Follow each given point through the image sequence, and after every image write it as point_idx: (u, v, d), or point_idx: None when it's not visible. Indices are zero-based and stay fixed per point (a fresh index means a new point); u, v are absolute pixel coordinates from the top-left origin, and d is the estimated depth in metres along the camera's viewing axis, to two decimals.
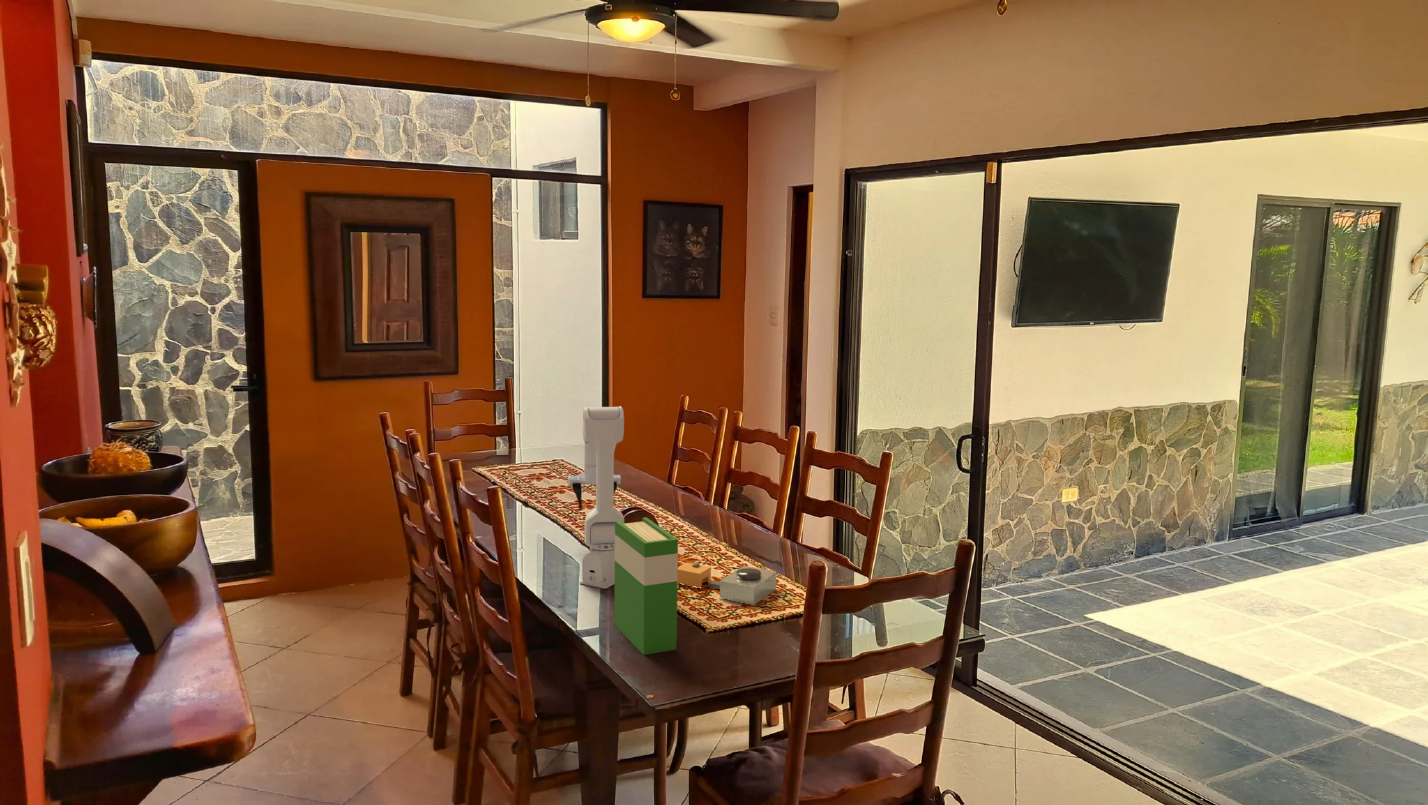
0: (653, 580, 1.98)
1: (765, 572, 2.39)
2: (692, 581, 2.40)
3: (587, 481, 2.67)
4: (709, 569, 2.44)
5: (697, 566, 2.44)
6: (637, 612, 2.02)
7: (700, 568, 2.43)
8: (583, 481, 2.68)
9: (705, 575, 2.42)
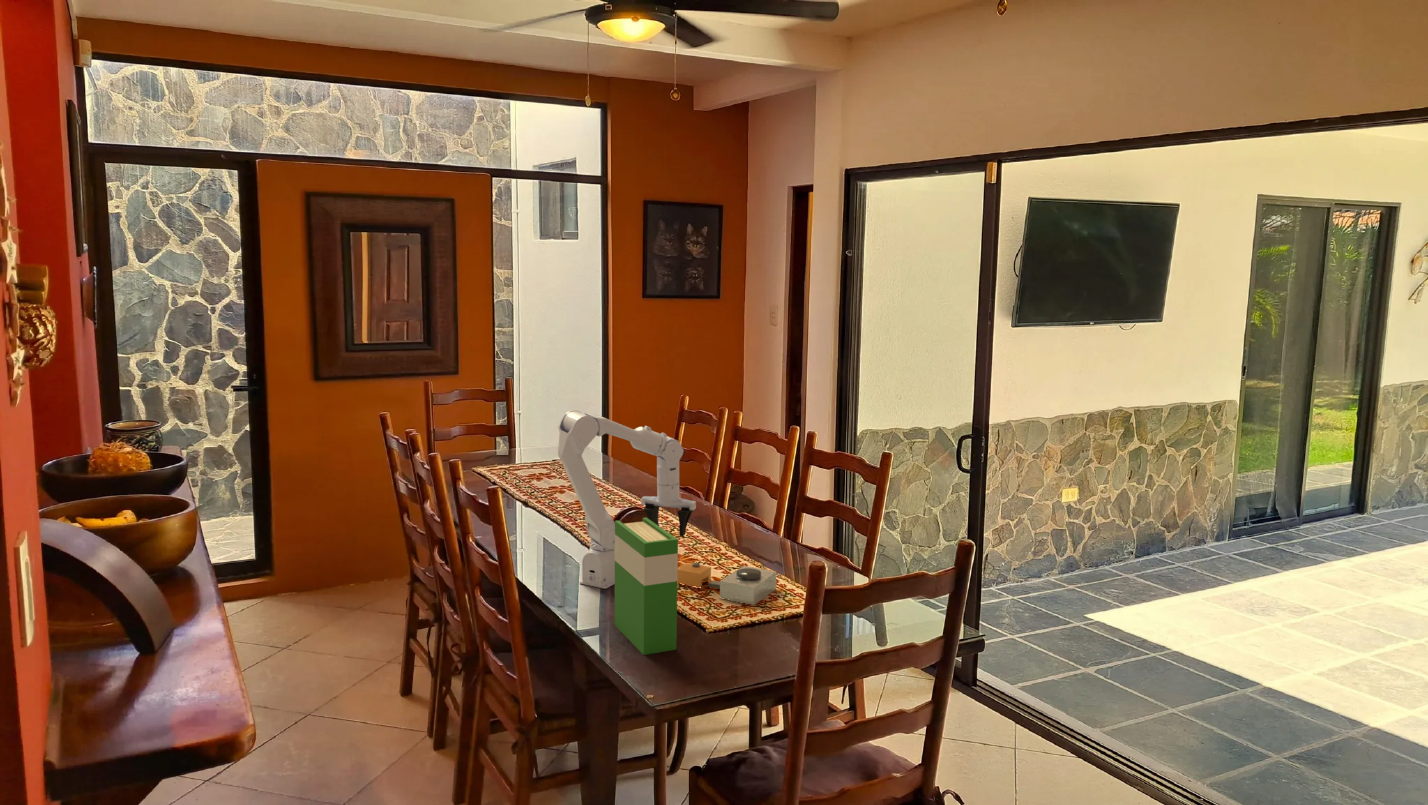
0: (653, 580, 1.98)
1: (765, 572, 2.39)
2: (692, 581, 2.40)
3: (657, 502, 2.48)
4: (709, 569, 2.44)
5: (697, 566, 2.44)
6: (637, 612, 2.02)
7: (700, 568, 2.43)
8: (653, 501, 2.49)
9: (705, 575, 2.42)
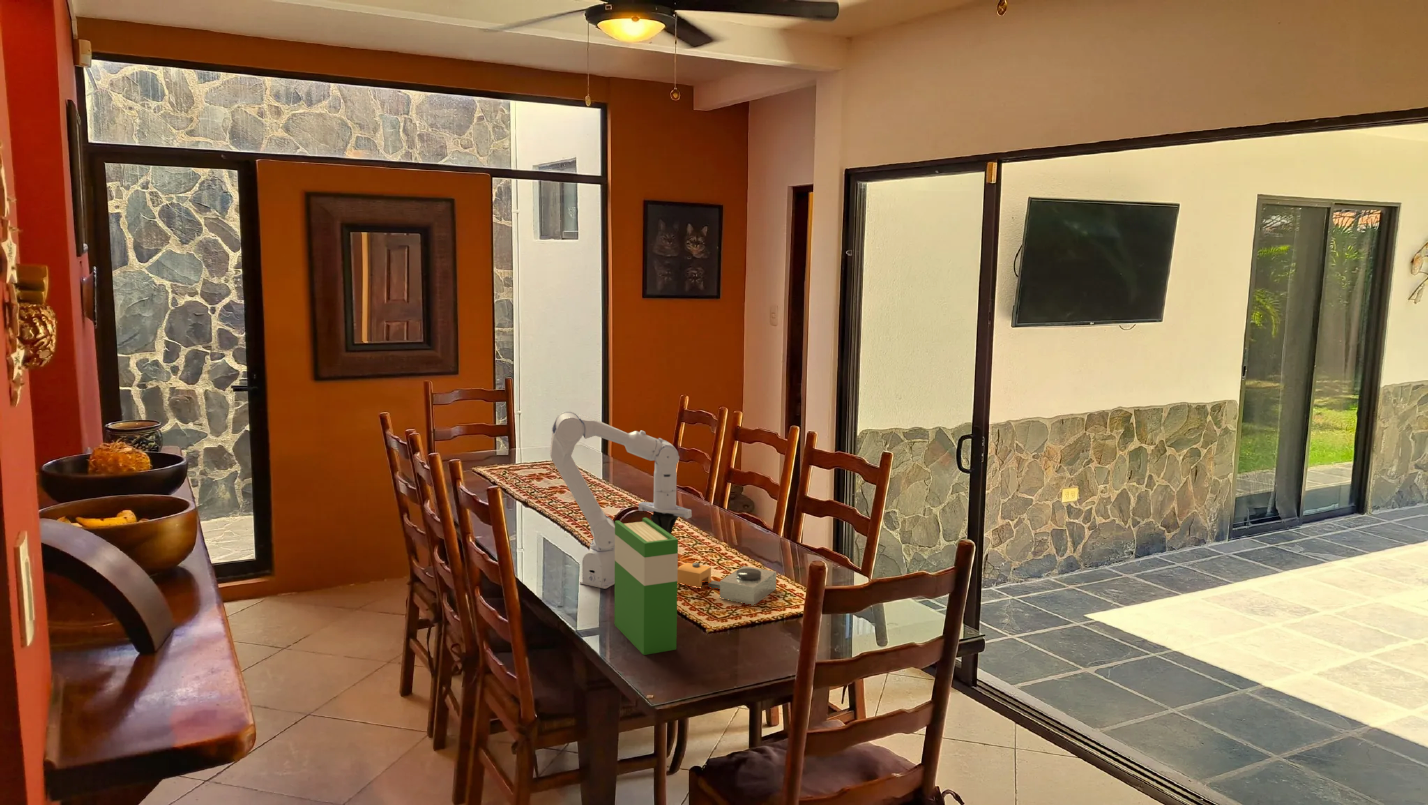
0: (653, 580, 1.98)
1: (765, 572, 2.39)
2: (692, 581, 2.40)
3: (652, 508, 2.44)
4: (709, 569, 2.44)
5: (697, 566, 2.44)
6: (637, 612, 2.02)
7: (700, 568, 2.43)
8: (649, 507, 2.44)
9: (705, 575, 2.42)
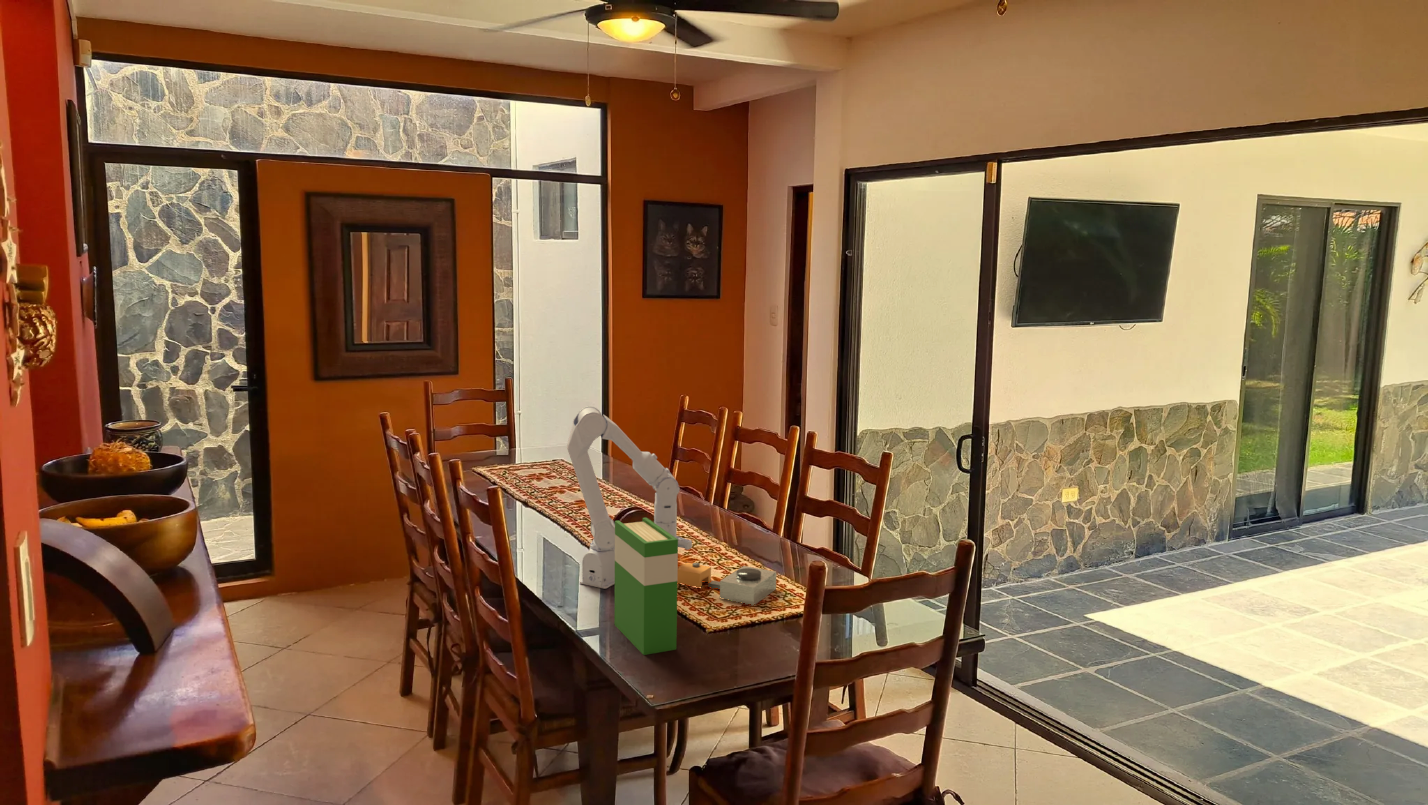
0: (653, 580, 1.98)
1: (765, 572, 2.39)
2: (692, 581, 2.40)
3: None
4: (709, 569, 2.44)
5: (697, 566, 2.44)
6: (637, 612, 2.02)
7: (700, 568, 2.43)
8: None
9: (705, 575, 2.42)
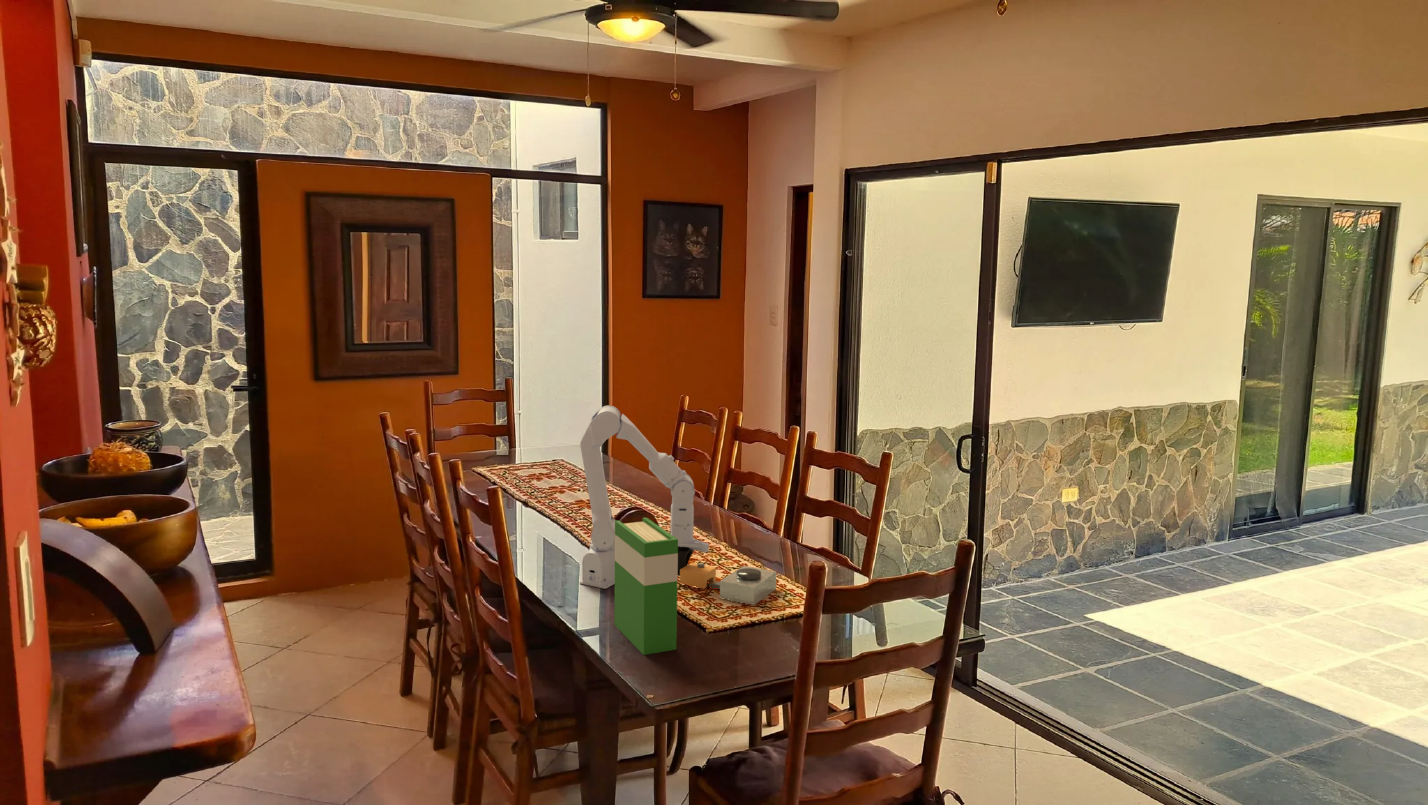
0: (653, 580, 1.98)
1: (765, 572, 2.39)
2: (697, 582, 2.40)
3: None
4: (714, 569, 2.43)
5: (702, 566, 2.43)
6: (637, 612, 2.02)
7: (705, 568, 2.43)
8: None
9: (710, 575, 2.41)
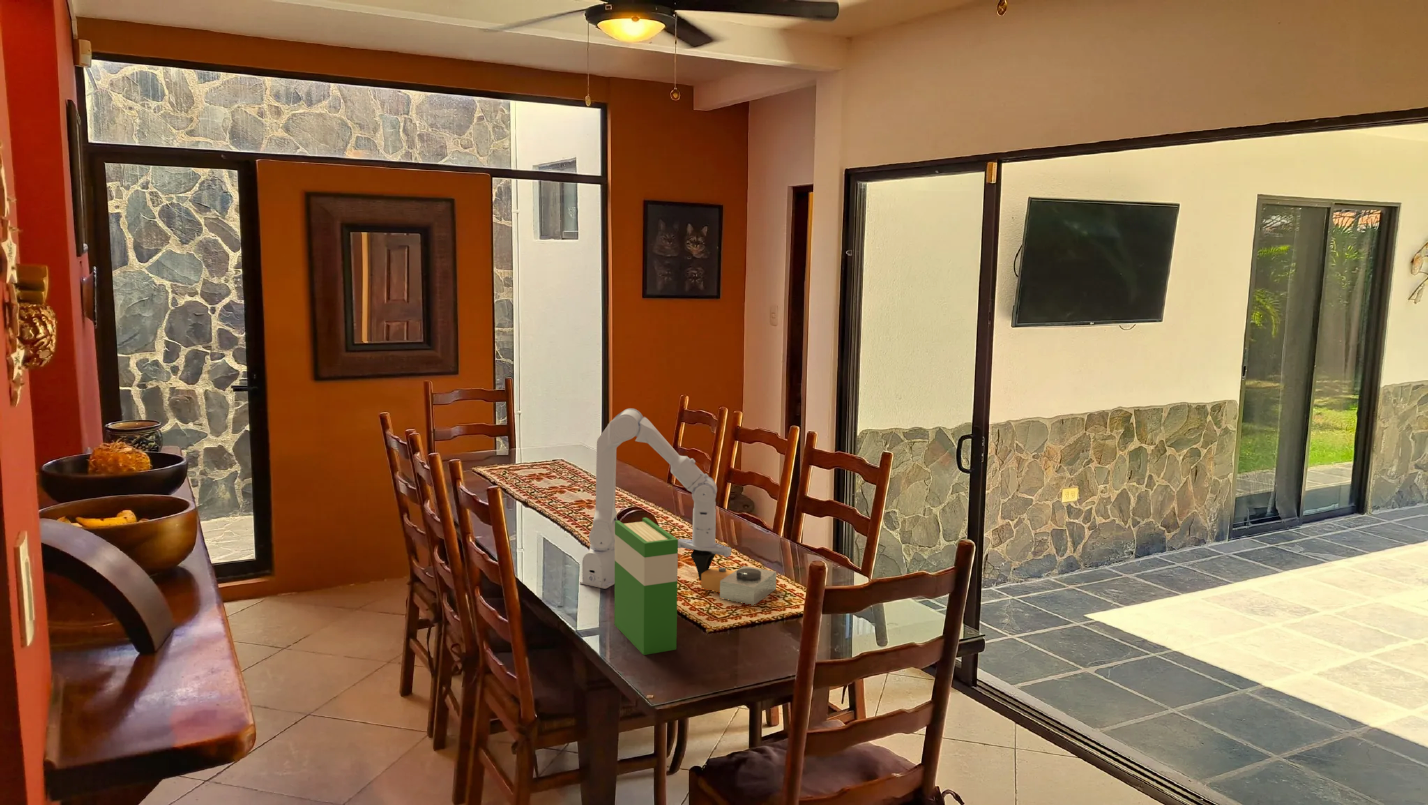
0: (653, 580, 1.98)
1: (765, 572, 2.39)
2: (718, 586, 2.37)
3: (691, 546, 2.40)
4: None
5: (723, 571, 2.40)
6: (637, 612, 2.02)
7: (726, 572, 2.40)
8: (688, 545, 2.41)
9: None
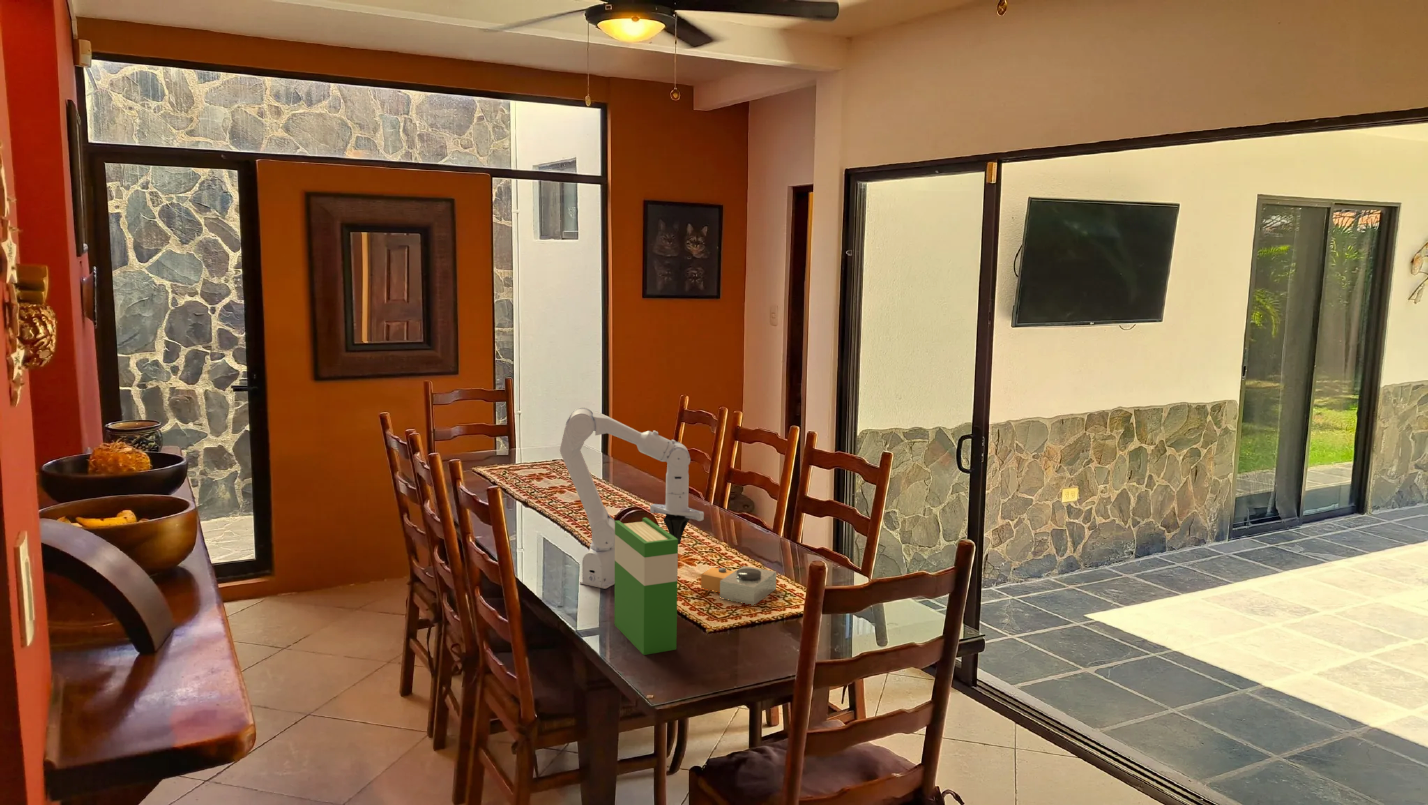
0: (653, 580, 1.98)
1: (765, 572, 2.39)
2: (718, 587, 2.37)
3: (664, 510, 2.42)
4: None
5: (723, 571, 2.40)
6: (637, 612, 2.02)
7: (726, 573, 2.40)
8: (661, 510, 2.43)
9: None
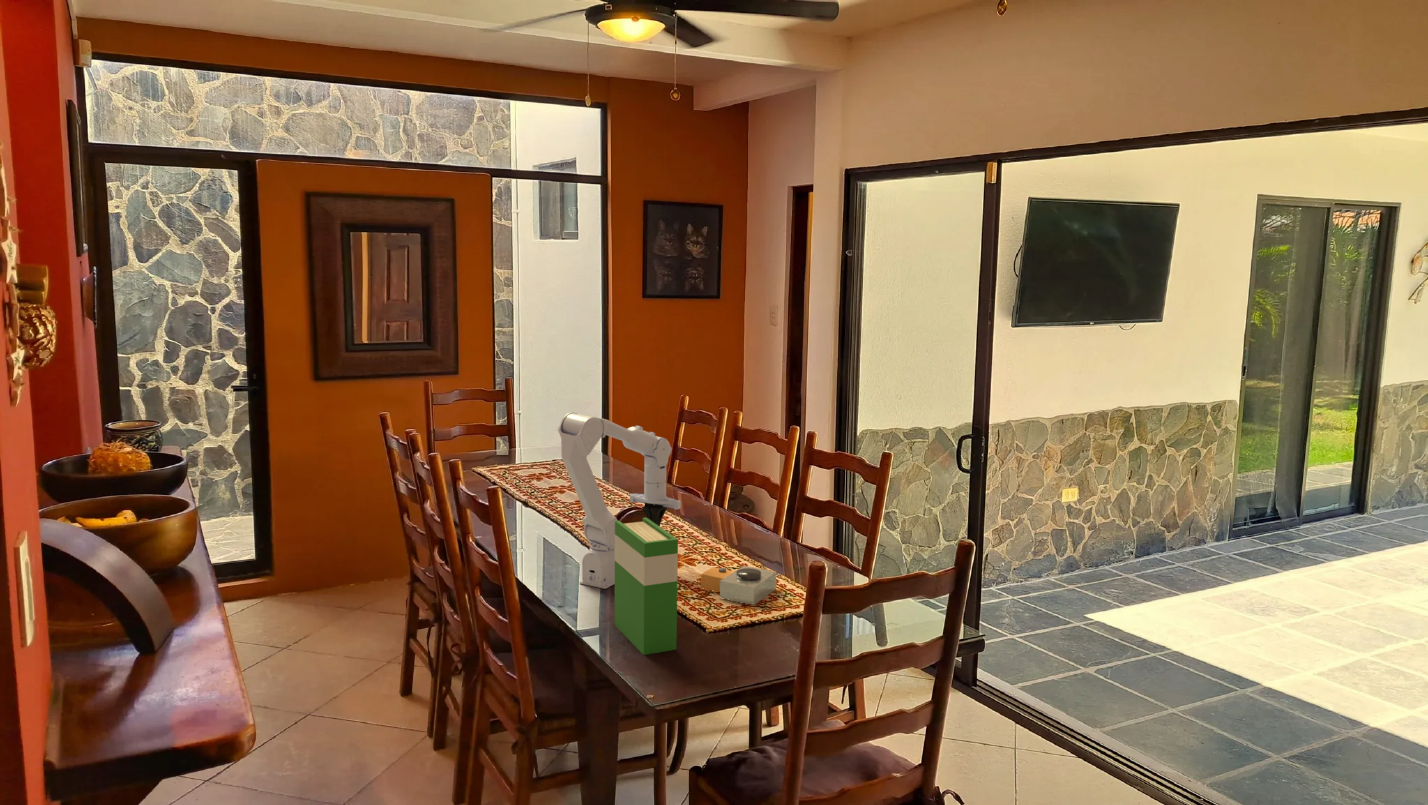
0: (653, 580, 1.98)
1: (765, 572, 2.39)
2: (718, 587, 2.37)
3: (643, 499, 2.52)
4: None
5: (723, 571, 2.40)
6: (637, 612, 2.02)
7: (726, 573, 2.40)
8: (640, 499, 2.53)
9: None
